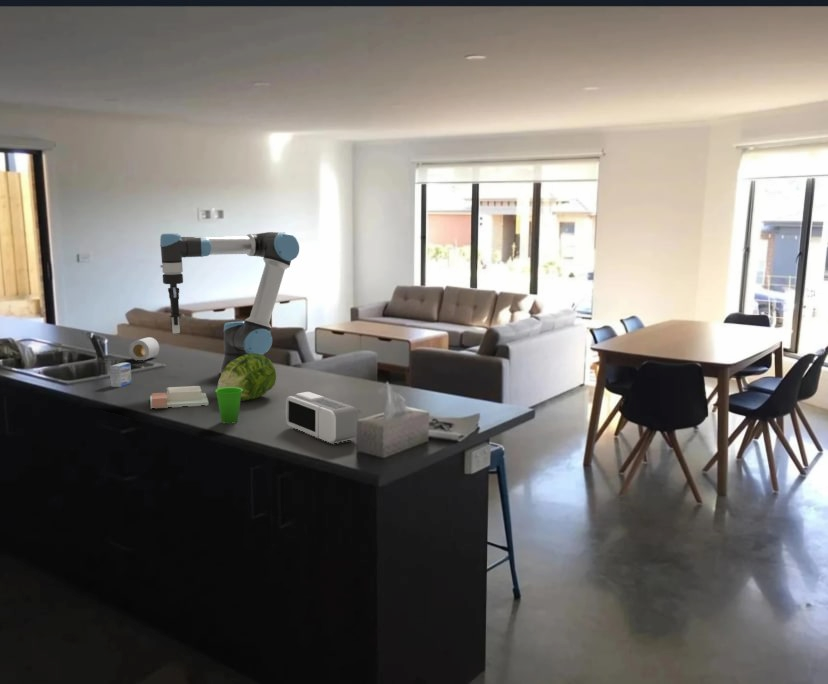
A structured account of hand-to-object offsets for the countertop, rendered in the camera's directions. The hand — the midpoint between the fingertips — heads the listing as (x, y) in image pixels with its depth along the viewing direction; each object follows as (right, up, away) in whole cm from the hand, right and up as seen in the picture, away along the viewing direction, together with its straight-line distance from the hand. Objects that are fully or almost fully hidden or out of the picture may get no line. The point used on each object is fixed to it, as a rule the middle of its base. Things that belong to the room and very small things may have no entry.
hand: (176, 332), depth 290 cm
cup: (+32, -31, -42) cm, 61 cm away
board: (+7, -26, -18) cm, 32 cm away
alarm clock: (+64, -34, -55) cm, 91 cm away
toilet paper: (-35, -12, +62) cm, 73 cm away
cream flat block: (+8, -24, -15) cm, 30 cm away
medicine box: (-25, -21, +8) cm, 34 cm away
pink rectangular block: (+2, -26, -26) cm, 37 cm away
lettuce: (+30, -26, -12) cm, 41 cm away
